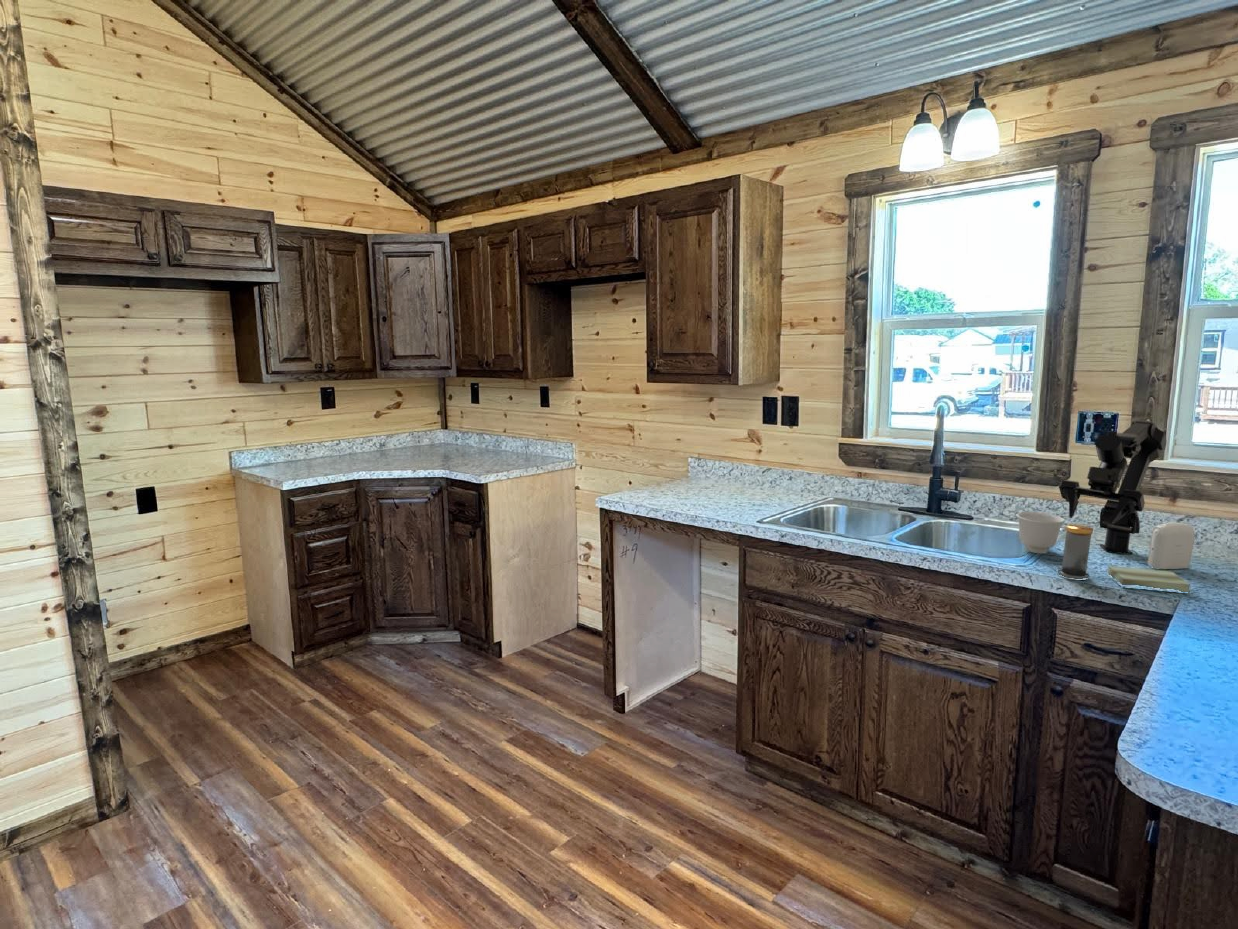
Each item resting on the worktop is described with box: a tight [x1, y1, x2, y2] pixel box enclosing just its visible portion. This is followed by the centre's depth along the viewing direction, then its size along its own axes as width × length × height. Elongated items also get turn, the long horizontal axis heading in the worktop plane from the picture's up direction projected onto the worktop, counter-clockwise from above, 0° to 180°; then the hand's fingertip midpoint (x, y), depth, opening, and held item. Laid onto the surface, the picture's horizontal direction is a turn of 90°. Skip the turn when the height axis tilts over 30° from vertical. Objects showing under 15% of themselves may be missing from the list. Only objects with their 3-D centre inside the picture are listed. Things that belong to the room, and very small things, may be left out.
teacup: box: [1015, 511, 1066, 554], centre depth 208 cm, size 12×15×10 cm
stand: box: [1107, 565, 1191, 592], centre depth 181 cm, size 10×14×2 cm
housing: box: [1057, 523, 1094, 579], centre depth 186 cm, size 7×7×13 cm
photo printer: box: [1146, 522, 1196, 570], centre depth 193 cm, size 10×4×12 cm, turn 96°
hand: (1090, 520), depth 189 cm, fingers open, 9 cm apart
